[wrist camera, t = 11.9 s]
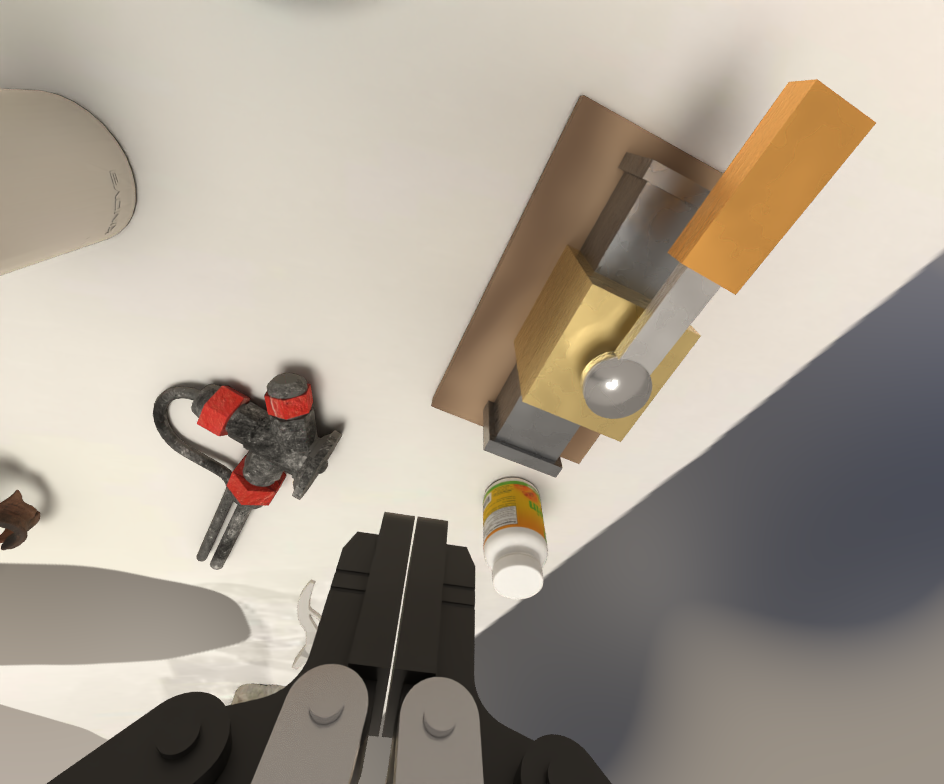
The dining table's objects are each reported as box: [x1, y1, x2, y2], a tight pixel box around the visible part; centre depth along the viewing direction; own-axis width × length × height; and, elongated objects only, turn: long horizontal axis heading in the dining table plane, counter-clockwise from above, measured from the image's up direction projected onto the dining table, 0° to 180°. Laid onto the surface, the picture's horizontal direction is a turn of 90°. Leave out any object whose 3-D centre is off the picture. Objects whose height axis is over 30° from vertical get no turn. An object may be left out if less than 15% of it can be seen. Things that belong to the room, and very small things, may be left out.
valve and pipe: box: [483, 152, 711, 477], centre depth 32 cm, size 7×21×10 cm, turn 155°
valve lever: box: [580, 79, 876, 419], centre depth 24 cm, size 17×4×2 cm, turn 153°
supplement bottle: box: [483, 478, 548, 599], centre depth 42 cm, size 5×5×10 cm
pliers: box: [292, 580, 321, 669], centre depth 57 cm, size 10×2×15 cm
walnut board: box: [431, 95, 723, 464], centre depth 36 cm, size 14×24×1 cm, turn 155°
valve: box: [153, 373, 342, 570], centre depth 44 cm, size 6×26×15 cm
